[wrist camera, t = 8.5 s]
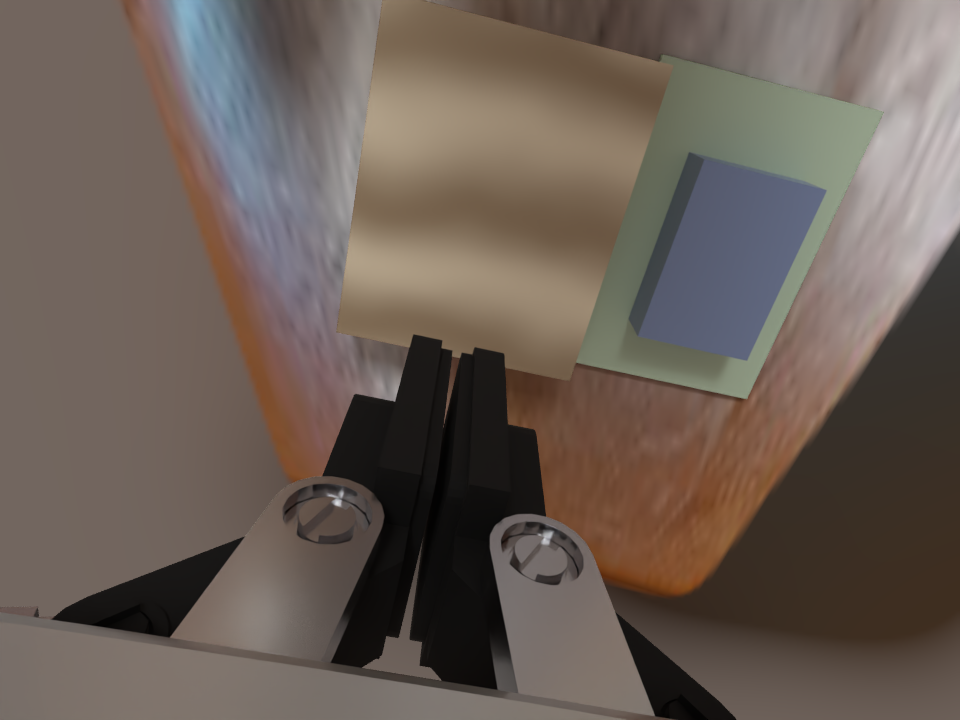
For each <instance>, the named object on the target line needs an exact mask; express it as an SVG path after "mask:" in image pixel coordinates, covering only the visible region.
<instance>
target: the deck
mask: <svg viewBox="0 0 960 720" xmlns="http://www.w3.org/2000/svg"><path fill="white" fill-rule="evenodd" d="M673 67H674V65H670V64H666V63H662V62H658V61H654V60H651V59H647V58H643V57H639V56H635V55H631V54H628V53H624V52H620V51H616V50H612V49H608V48H604V47H601V46H597V45H593V44H589V43H585V42H581V41H578V40H574V39H570V38H566V37H562V36H558V35H554V34H551V33H547V32H543V31H539V30H535V29H531V28H527V27H524V26H520V25H516V24H512V23H508V22H504V21H501V20H497V19H493V18H489V17H485V16H481V15H477V14H474V13H470V12H466V11H462V10H458V9H454V8H451V7H447V6H443V5H439V4H435V3H431V2H427V1H424V0H382V7H381V14H380V21H379V28H378V35H377V43H376V50H375V57H374V64H373V71H372V79H371V86H370V93H369V100H368V107H367V115H366V122H365V129H364V136H363V144H362V151H361V158H360V165H359V172H358V180H357V187H356V194H355V201H354V208H353V216H352V223H351V230H350V237H349V244H348V252H347V259H346V266H345V273H344V280H343V288H342V295H341V302H340V309H339V316H338V324H337V331H336V332H338V333H342V334H347V335H352V336H357V337H361V338H366V339H371V340H375V341H380V342H385V343H390V344H394V345H399V346H404V347H409V348H410V344H411V341H412V337H413V334H415V335H420V336H425V337H429V338H434V339H439V340H443V341H442V347H441V348H443V349H448V350H453V352H452V357H456V358H460V356H461V353H467V354H473V350H474V348H475V347H477V348H482V349H486V350H491V351H496V352H501V353H504V355H505V368H508V369H513V370H518V371H523V372H527V373H532V374H537V375H542V376H546V377H551V378H556V379H561V380H565V381H570V379H571V376H572V373H573V370H574V367H575V363H576V360H577V357H578V354H579V351H580V348H581V345H582V342H583V339H584V336H585V333H586V330H587V327H588V324H589V321H590V318H591V315H592V312H593V309H594V306H595V303H596V300H597V297H598V294H599V291H600V288H601V285H602V282H603V279H604V276H605V273H606V270H607V267H608V264H609V261H610V257H611V254H612V251H613V248H614V245H615V242H616V239H617V236H618V233H619V230H620V227H621V224H622V221H623V218H624V215H625V212H626V209H627V206H628V203H629V200H630V197H631V194H632V191H633V188H634V185H635V182H636V179H637V176H638V173H639V170H640V167H641V164H642V161H643V158H644V155H645V151H646V148H647V145H648V142H649V139H650V136H651V133H652V130H653V127H654V124H655V121H656V118H657V115H658V112H659V109H660V106H661V103H662V100H663V97H664V94H665V91H666V88H667V85H668V82H669V79H670V76H671V73H672V70H673Z"/></svg>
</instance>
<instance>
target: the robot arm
mask: <svg viewBox="0 0 960 720" xmlns="http://www.w3.org/2000/svg"><path fill="white" fill-rule="evenodd" d="M442 341H443V340H439V339H434V338H429V337H425V336H420V335H415V334H413V337H412V341H411V344H410V348H409V352H408V356H407V359H406V363H405V367H404V371H403V374H402V378H401V382H400V386H399V389H398V393H397V397H396V401H395V402H394V401H389V400H384V399H379V398H374V397H369V396H364V395H359V394H355V395H354V397H353V399H352V402H351V404H350V407H349V409H348V412H347V414H346V417H345V419H344V422H343V425H342V427H341V430H340V432H339V435H338V437H337V440H336V443H335V445H334V448H333V450H332V453H331V455H330V458H329V461H328V463H327V466H326V468H325V471H324V473H323V476H321V477H311V478H306V479H302V480H298V481H296V482H294V483H292V484H290V485H288V486H286V487H285V488H284V489H283V490H282V491H280V492H279V493H278V494H277V495H276V496H275V497H274V499H273V500H272V501H271V503H270V504H269V505H268V507H267V508H266V509H265V511H264V512H263V513H262V515H261V516H260V517H259V519H258V520H257V521H256V523H255V524H254V525H253V527H252V528H251V529H250V531H249V532H248V534H247V535H246V536H245V537H242V538H240V539H237V540H234V541H232V542H229V543H227V544H224V545H222V546H219V547H216V548H214V549H211V550H209V551H206V552H203V553H201V554H198V555H195V556H193V557H190V558H187V559H185V560H182V561H180V562H177V563H175V564H172V565H169V566H167V567H164V568H161V569H159V570H156V571H154V572H151V573H149V574H146V575H143V576H141V577H138V578H135V579H133V580H130V581H128V582H125V583H122V584H120V585H117V586H114V587H112V588H109V589H107V590H104V591H101V592H99V593H96V594H94V595H91V596H88V597H86V598H84V599H82V600H80V601H78V602H76V603H74V604H72V605H70V606H68V607H66V608H65V609H63V610H62V611H61V612H60V613H58V614H57V615H56V616H49V617H39V612H38V607H37V606H34V607H0V720H736V718H735V717H734V716H733V715H732V714H731V713H730V712H729V711H728V710H727V709H726V708H725V707H724V706H723V705H722V704H721V703H720V702H719V701H718V700H717V699H716V698H715V697H713V696H712V695H711V694H710V693H709V692H707V690H705V689H704V688H703V687H702V686H701V685H700V684H698V683H697V682H696V681H695V680H694V679H693V678H691V677H690V676H689V675H688V674H687V673H686V672H684V671H683V670H682V669H681V668H680V667H679V666H678V665H676V664H675V663H674V662H673V661H672V660H670V659H669V658H668V657H667V656H666V655H665V654H663V653H662V652H661V651H660V650H659V649H658V648H657V647H655V646H654V645H653V644H652V643H651V642H650V641H648V640H647V639H646V638H645V637H644V636H643V635H641V634H640V633H639V632H638V631H637V630H636V629H635V628H633V627H632V626H631V625H630V624H629V623H628V622H626V621H625V620H624V619H623V618H622V617H621V616H619V615H618V614H617V613H616V612H615V611H614V608H613V606H612V603H611V601H610V598H609V595H608V593H607V590H606V588H605V585H604V582H603V580H602V577H601V575H600V572H599V569H598V567H597V564H596V562H595V559H594V557H593V554H592V553H591V551H590V549H589V547H588V546H587V544H586V542H585V541H584V540H583V539H582V538H581V537H580V536H579V535H578V534H577V533H576V532H575V531H573V530H572V529H570V528H569V527H567V526H565V525H564V524H562V523H560V522H558V521H556V520H553V519H551V518H548V517H546V512H545V504H544V495H543V487H542V478H541V470H540V462H539V453H538V445H537V436H536V432H535V430H533V429H528V428H523V427H518V426H513V425H508V420H507V398H506V377H505V355H504V353H501V352H496V351H491V350H486V349H482V348H477V347H475V348H474V350H473V354H467V353H461V356H460V360H459V364H458V369H457V373H456V377H455V381H454V386H453V390H452V394H451V398H450V402H449V407H448V411H447V415H446V419H445V424H444V417H445V409H446V401H447V393H448V385H449V376H450V368H451V360H452V352H453V350H448V349H443V348H441V347H442ZM443 425H444V428H443ZM422 539H423V542H422ZM421 543H422V550H421V557H420V565H419V572H418V579H417V586H416V594H415V601H414V608H413V616H412V623H411V630H410V640H414V641H419V642H422V649H421V657H420V666H425V667H431V668H432V669H433V671H434V672H435V673H436V674H437V675H438V676H439V678H440V679H441V680H442V681H439V680H433V679H426V678H420V677H414V676H408V675H402V674H396V673H390V672H383V671H377V670H371V669H365V668H362V667H363V666H365V665H367V664H368V663H370V662H371V661H373V660H375V659H379V657H380V656H381V655H382V652H383V648H384V643H385V639H386V636H389V637H395V638H398V637H399V634H400V630H401V626H402V621H403V617H404V613H405V609H406V605H407V601H408V597H409V593H410V589H411V584H412V580H413V576H414V571H415V568H416V564H417V560H418V555H419V551H420V547H421Z"/></svg>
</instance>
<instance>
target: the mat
mask: <svg viewBox="0 0 960 720" xmlns="http://www.w3.org/2000/svg"><path fill="white" fill-rule="evenodd" d="M659 62H662V63H666V64H670V65H674V67H673V70H672V73H671V76H670V79H669V82H668V85H667V88H666V91H665V94H664V97H663V100H662V103H661V106H660V109H659V112H658V115H657V118H656V121H655V124H654V127H653V130H652V133H651V136H650V139H649V142H648V145H647V148H646V151H645V155H644V158H643V161H642V164H641V167H640V170H639V173H638V176H637V179H636V182H635V185H634V188H633V191H632V194H631V197H630V200H629V203H628V206H627V209H626V212H625V215H624V218H623V221H622V224H621V227H620V230H619V233H618V236H617V239H616V242H615V245H614V248H613V251H612V254H611V257H610V261H609V264H608V267H607V270H606V273H605V276H604V279H603V282H602V285H601V288H600V291H599V294H598V297H597V300H596V303H595V306H594V309H593V312H592V315H591V318H590V321H589V324H588V327H587V330H586V333H585V336H584V339H583V342H582V345H581V348H580V351H579V354H578V357H577V360H576V363H580V364H584V365H589V366H594V367H598V368H603V369H608V370H612V371H617V372H622V373H627V374H631V375H636V376H641V377H645V378H650V379H655V380H659V381H664V382H669V383H673V384H678V385H683V386H687V387H692V388H697V389H701V390H706V391H711V392H716V393H720V394H725V395H730V396H734V397H739V398H744V399H747V398H748V395H749V393H750V391H751V389H752V387H753V385H754V383H755V381H756V379H757V377H758V375H759V372H760V370H761V368H762V366H763V364H764V362H765V360H766V358H767V356H768V354H769V352H770V349H771V347H772V345H773V343H774V341H775V339H776V337H777V335H778V333H779V331H780V328H781V326H782V324H783V322H784V320H785V318H786V316H787V314H788V312H789V310H790V308H791V305H792V303H793V301H794V299H795V297H796V295H797V293H798V291H799V289H800V287H801V285H802V282H803V280H804V278H805V276H806V274H807V272H808V270H809V268H810V266H811V264H812V262H813V259H814V257H815V255H816V253H817V251H818V249H819V247H820V245H821V243H822V241H823V239H824V236H825V234H826V232H827V230H828V228H829V226H830V224H831V222H832V220H833V218H834V216H835V213H836V211H837V209H838V207H839V205H840V203H841V201H842V199H843V197H844V195H845V193H846V190H847V188H848V186H849V184H850V182H851V180H852V178H853V176H854V174H855V172H856V170H857V167H858V165H859V163H860V161H861V159H862V157H863V155H864V153H865V151H866V149H867V147H868V144H869V142H870V140H871V138H872V136H873V134H874V132H875V130H876V128H877V126H878V124H879V121H880V119H881V117H882V115H883V113H884V112H882V111H879V110H875V109H871V108H867V107H863V106H859V105H856V104H852V103H848V102H844V101H840V100H836V99H833V98H829V97H825V96H821V95H817V94H813V93H810V92H806V91H802V90H798V89H794V88H790V87H787V86H783V85H779V84H775V83H771V82H767V81H764V80H760V79H756V78H752V77H748V76H745V75H741V74H737V73H733V72H729V71H725V70H722V69H718V68H714V67H710V66H706V65H702V64H699V63H695V62H691V61H687V60H683V59H679V58H676V57H672V56H668V55H664V54H661V55H660V59H659ZM689 152H692V153H695V154H699V155H703V156H707V157H711V158H715V159H719V160H723V161H727V162H731V163H735V164H739V165H743V166H747V167H751V168H755V169H759V170H763V171H766V172H770V173H774V174H778V175H782V176H786V177H790V178H794V179H798V180H802V181H805V182H808V183H810V184H813V185H815V186H818V187H820V188H823V189H825V190H827V192H826V194H825V196H824V198H823V200H822V202H821V204H820V206H819V209H818V211H817V213H816V215H815V217H814V219H813V221H812V224H811V226H810V228H809V230H808V232H807V234H806V236H805V238H804V241H803V243H802V245H801V247H800V249H799V251H798V253H797V255H796V258H795V260H794V262H793V264H792V266H791V268H790V270H789V272H788V275H787V277H786V279H785V281H784V283H783V285H782V287H781V290H780V292H779V294H778V296H777V298H776V300H775V302H774V304H773V307H772V309H771V311H770V313H769V315H768V317H767V319H766V321H765V324H764V326H763V328H762V330H761V332H760V334H759V336H758V338H757V341H756V343H755V345H754V347H753V349H752V351H751V353H750V356H749V358H748V360H747V361H745V360H741V359H736V358H732V357H728V356H723V355H719V354H714V353H710V352H705V351H701V350H696V349H692V348H687V347H683V346H678V345H674V344H670V343H665V342H661V341H656V340H652V339H647V338H643V337H638V336H637V334H636V332H635V330H634V328H633V326H632V325H631V323H630V321H629V319H628V318H629V316H630V313H631V310H632V308H633V305H634V302H635V299H636V297H637V294H638V291H639V288H640V286H641V283H642V280H643V277H644V275H645V272H646V269H647V266H648V264H649V261H650V258H651V255H652V253H653V250H654V247H655V244H656V242H657V239H658V236H659V233H660V231H661V228H662V225H663V222H664V220H665V217H666V214H667V212H668V209H669V206H670V203H671V201H672V198H673V195H674V192H675V190H676V187H677V184H678V181H679V179H680V176H681V173H682V170H683V168H684V165H685V162H686V159H687V157H688V154H689Z"/></svg>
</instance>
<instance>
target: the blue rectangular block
mask: <svg viewBox="0 0 960 720" xmlns="http://www.w3.org/2000/svg"><path fill="white" fill-rule="evenodd" d="M826 192H827V190H825V189H823V188H820V187H818V186H815V185H813V184H810V183H808V182H805V181H802V180H798V179H794V178H790V177H786V176H782V175H778V174H774V173H770V172H766V171H763V170H759V169H755V168H751V167H747V166H743V165H739V164H735V163H731V162H727V161H723V160H719V159H715V158H711V157H707V156H703V155H699V154H695V153H692V152H689V154H688V157H687V159H686V162H685V165H684V168H683V170H682V173H681V176H680V179H679V181H678V184H677V187H676V190H675V192H674V195H673V198H672V201H671V203H670V206H669V209H668V212H667V214H666V217H665V220H664V222H663V225H662V228H661V231H660V233H659V236H658V239H657V242H656V244H655V247H654V250H653V253H652V255H651V258H650V261H649V264H648V266H647V269H646V272H645V275H644V277H643V280H642V283H641V286H640V288H639V291H638V294H637V297H636V299H635V302H634V305H633V308H632V310H631V313H630V316H629V318H628V319H629V321H630V323H631V325H632V326H633V328H634V330H635V332H636V334H637V336H638V337H643V338H647V339H652V340H656V341H661V342H665V343H670V344H674V345H678V346H683V347H687V348H692V349H696V350H701V351H705V352H710V353H714V354H719V355H723V356H728V357H732V358H736V359H741V360H745V361H747V360H748V358H749V356H750V353H751V351H752V349H753V347H754V345H755V343H756V341H757V338H758V336H759V334H760V332H761V330H762V328H763V326H764V324H765V321H766V319H767V317H768V315H769V313H770V311H771V309H772V307H773V304H774V302H775V300H776V298H777V296H778V294H779V292H780V290H781V287H782V285H783V283H784V281H785V279H786V277H787V275H788V272H789V270H790V268H791V266H792V264H793V262H794V260H795V258H796V255H797V253H798V251H799V249H800V247H801V245H802V243H803V241H804V238H805V236H806V234H807V232H808V230H809V228H810V226H811V224H812V221H813V219H814V217H815V215H816V213H817V211H818V209H819V206H820V204H821V202H822V200H823V198H824V196H825V194H826Z"/></svg>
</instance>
